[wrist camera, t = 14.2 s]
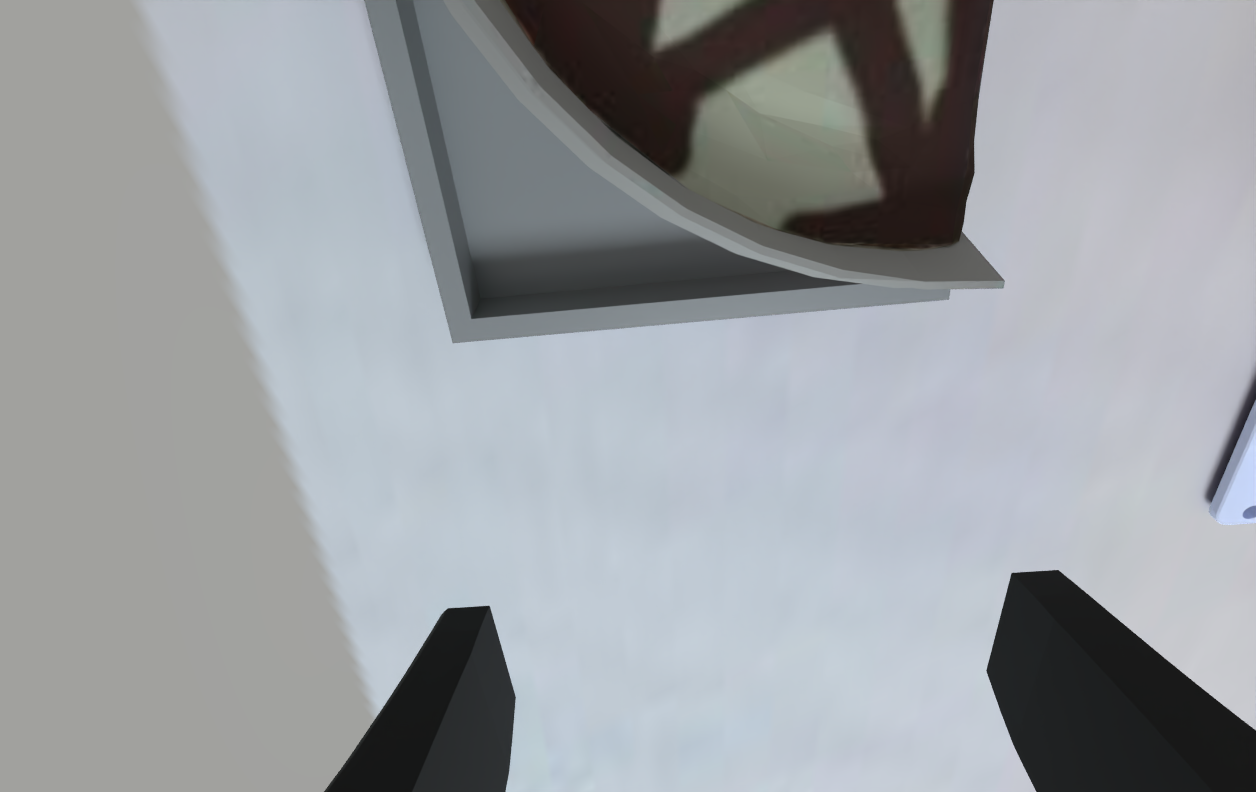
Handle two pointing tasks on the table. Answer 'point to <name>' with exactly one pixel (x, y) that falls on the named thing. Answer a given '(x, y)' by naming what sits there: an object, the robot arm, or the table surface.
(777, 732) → the table surface
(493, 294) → the gray tray
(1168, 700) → the robot arm
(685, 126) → the food container
